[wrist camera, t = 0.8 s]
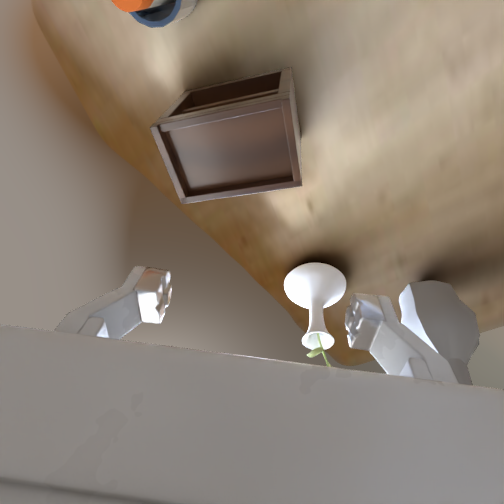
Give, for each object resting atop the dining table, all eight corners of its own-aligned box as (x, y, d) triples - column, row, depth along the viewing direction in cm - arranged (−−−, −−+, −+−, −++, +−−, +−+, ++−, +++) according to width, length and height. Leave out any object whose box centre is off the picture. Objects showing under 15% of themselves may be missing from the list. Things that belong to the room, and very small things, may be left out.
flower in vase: (275, 265, 60) (266, 397, 41) (336, 250, 56) (356, 388, 38) (297, 308, 68) (298, 438, 49) (353, 298, 64) (377, 434, 45)
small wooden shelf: (184, 91, 42) (149, 127, 32) (291, 66, 39) (289, 98, 29) (205, 156, 48) (181, 204, 38) (301, 139, 45) (302, 186, 35)
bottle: (378, 273, 59) (429, 459, 36) (445, 252, 54) (552, 450, 32) (397, 310, 65) (450, 490, 42) (459, 293, 60) (557, 486, 37)
